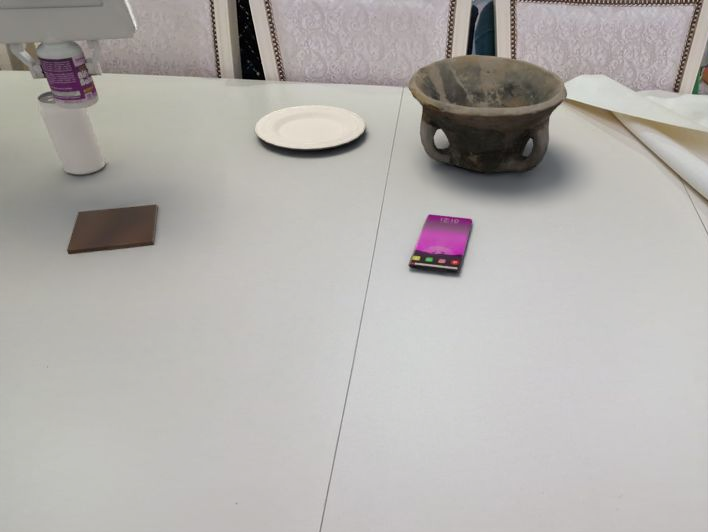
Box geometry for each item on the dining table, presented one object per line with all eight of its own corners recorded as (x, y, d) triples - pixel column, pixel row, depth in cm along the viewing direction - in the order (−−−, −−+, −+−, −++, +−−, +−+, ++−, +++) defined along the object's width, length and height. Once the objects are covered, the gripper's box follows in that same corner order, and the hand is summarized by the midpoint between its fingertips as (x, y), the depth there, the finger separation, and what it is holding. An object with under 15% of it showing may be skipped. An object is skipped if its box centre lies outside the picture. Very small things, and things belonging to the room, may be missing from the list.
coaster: (68, 254, 86) (66, 250, 85) (79, 215, 93) (78, 211, 93) (153, 244, 88) (152, 241, 88) (157, 207, 96) (156, 204, 96)
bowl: (407, 194, 103) (405, 104, 93) (412, 130, 123) (411, 50, 113) (564, 198, 105) (579, 110, 95) (544, 135, 125) (555, 56, 115)
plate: (347, 163, 111) (347, 153, 109) (237, 150, 112) (235, 140, 111) (378, 120, 126) (377, 110, 125) (280, 109, 128) (279, 100, 127)
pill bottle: (99, 108, 84) (72, 31, 78) (55, 112, 83) (24, 34, 76) (100, 94, 88) (74, 20, 81) (58, 98, 86) (28, 22, 80)
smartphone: (407, 269, 87) (407, 264, 86) (427, 217, 98) (427, 212, 97) (458, 276, 86) (458, 270, 85) (472, 222, 97) (472, 217, 97)
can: (65, 161, 106) (36, 90, 98) (107, 157, 108) (82, 87, 100) (62, 178, 102) (31, 105, 94) (105, 173, 103) (79, 101, 95)
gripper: (-87, -38, 69) (-26, 89, 78) (113, -41, 74) (148, 79, 83) (-70, -49, 73) (-14, 72, 82) (118, -51, 78) (150, 64, 88)
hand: (69, 75), depth 83 cm, fingers closed on pill bottle, 5 cm apart
